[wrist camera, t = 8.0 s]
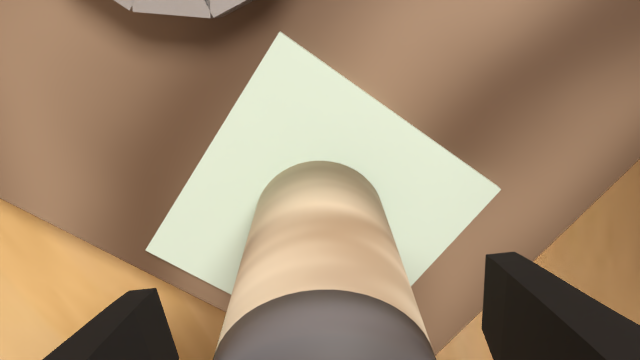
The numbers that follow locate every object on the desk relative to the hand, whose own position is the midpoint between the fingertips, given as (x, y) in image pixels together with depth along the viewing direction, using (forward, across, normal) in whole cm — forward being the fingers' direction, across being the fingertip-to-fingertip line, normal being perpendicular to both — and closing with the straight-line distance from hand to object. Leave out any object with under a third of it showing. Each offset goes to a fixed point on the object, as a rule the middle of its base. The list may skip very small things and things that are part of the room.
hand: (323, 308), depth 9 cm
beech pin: (+4, 0, 0) cm, 4 cm away
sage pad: (+4, 0, 0) cm, 4 cm away
